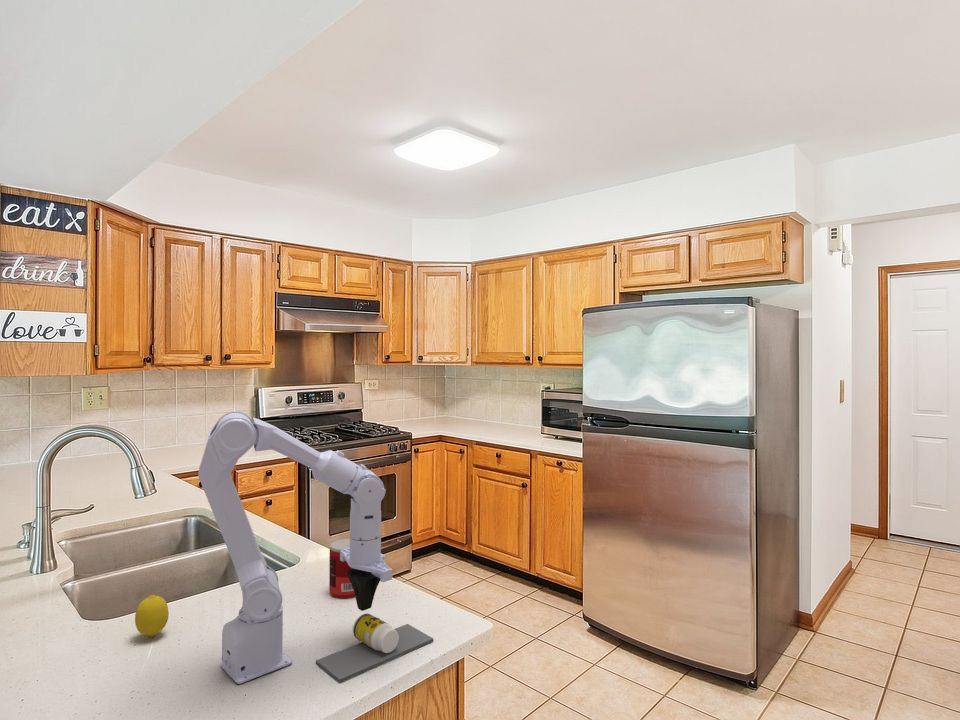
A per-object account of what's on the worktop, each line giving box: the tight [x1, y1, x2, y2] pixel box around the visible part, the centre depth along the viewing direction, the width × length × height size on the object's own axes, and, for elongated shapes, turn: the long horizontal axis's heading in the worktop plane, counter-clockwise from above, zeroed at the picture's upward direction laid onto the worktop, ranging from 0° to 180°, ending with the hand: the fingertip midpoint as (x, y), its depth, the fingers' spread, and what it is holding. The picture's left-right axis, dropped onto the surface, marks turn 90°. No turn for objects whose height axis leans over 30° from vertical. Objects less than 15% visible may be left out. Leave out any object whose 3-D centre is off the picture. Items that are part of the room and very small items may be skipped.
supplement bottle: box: [352, 613, 399, 653], centre depth 106 cm, size 5×5×8 cm
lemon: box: [134, 594, 169, 638], centre depth 110 cm, size 6×6×8 cm
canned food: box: [328, 537, 355, 599], centre depth 131 cm, size 8×8×11 cm
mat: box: [315, 623, 434, 684], centre depth 105 cm, size 20×8×1 cm, turn 134°
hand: (364, 608), depth 108 cm, fingers closed
